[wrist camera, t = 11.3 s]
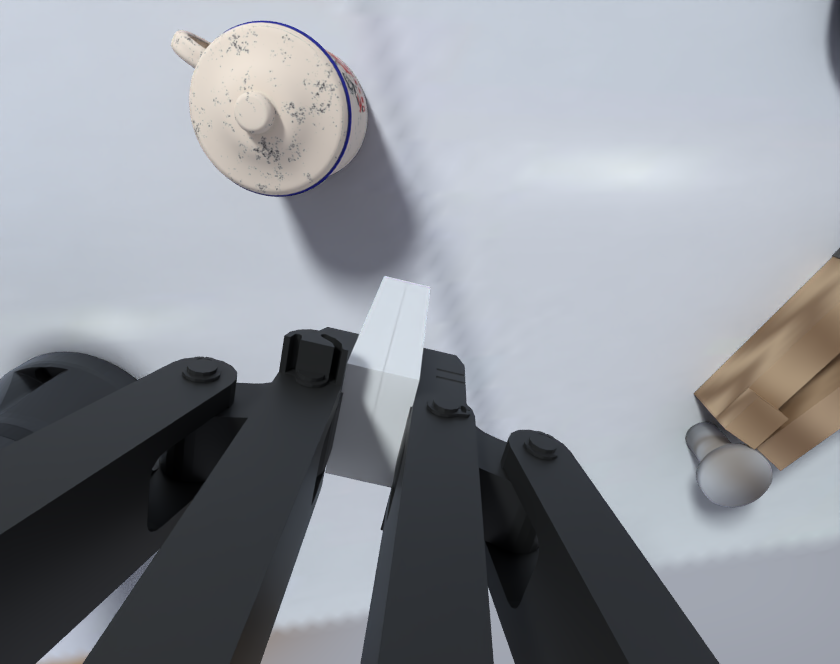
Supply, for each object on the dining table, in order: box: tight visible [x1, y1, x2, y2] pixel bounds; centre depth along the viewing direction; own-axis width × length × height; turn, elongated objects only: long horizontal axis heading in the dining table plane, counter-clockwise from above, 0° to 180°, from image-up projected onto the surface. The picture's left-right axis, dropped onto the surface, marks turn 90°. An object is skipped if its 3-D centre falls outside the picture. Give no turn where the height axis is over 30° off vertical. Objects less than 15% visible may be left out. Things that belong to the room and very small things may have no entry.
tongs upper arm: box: [694, 248, 840, 507], centre depth 40 cm, size 23×6×6 cm, turn 145°
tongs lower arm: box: [685, 353, 840, 471], centre depth 41 cm, size 22×5×4 cm, turn 139°
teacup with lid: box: [171, 21, 368, 197], centre depth 33 cm, size 12×9×12 cm
